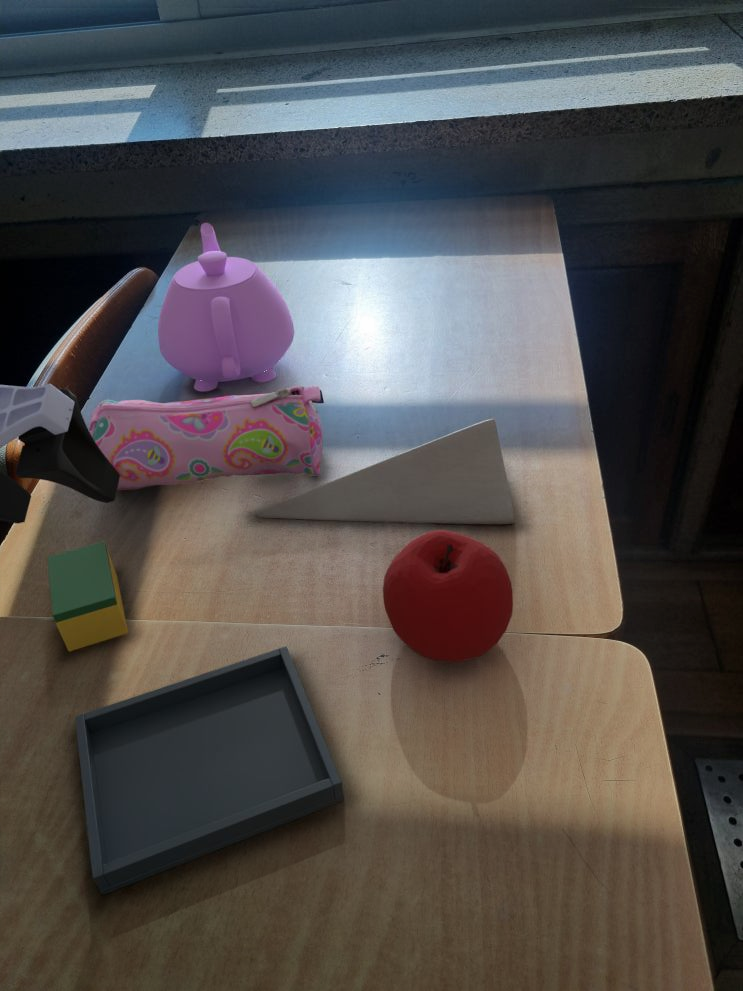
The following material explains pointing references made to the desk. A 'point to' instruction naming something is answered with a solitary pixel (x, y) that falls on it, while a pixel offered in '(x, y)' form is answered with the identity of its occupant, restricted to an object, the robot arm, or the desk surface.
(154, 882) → the desk surface
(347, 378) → the desk surface
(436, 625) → the apple
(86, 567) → the sponge
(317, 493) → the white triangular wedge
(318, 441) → the pencil case
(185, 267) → the teapot
